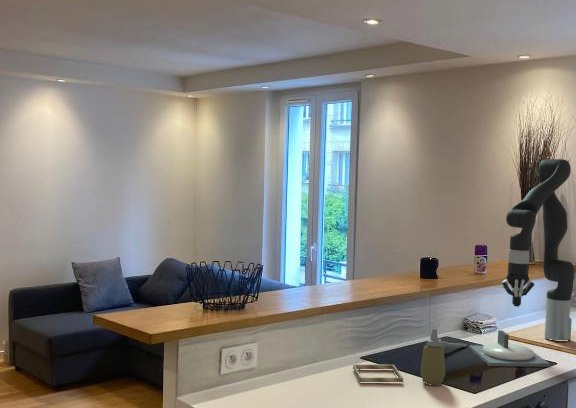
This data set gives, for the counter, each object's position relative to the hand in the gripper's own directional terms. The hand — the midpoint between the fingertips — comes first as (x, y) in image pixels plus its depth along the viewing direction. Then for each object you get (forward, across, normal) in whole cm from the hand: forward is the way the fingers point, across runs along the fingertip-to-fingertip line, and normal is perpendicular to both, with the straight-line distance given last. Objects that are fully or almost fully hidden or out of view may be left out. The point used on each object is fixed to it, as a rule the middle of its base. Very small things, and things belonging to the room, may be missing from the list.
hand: (516, 306), depth 253 cm
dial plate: (+18, +5, +8) cm, 20 cm away
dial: (+16, +5, +7) cm, 19 cm away
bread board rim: (+18, +59, +32) cm, 70 cm away
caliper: (+18, +24, 0) cm, 31 cm away
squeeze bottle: (+18, +42, +38) cm, 59 cm away
